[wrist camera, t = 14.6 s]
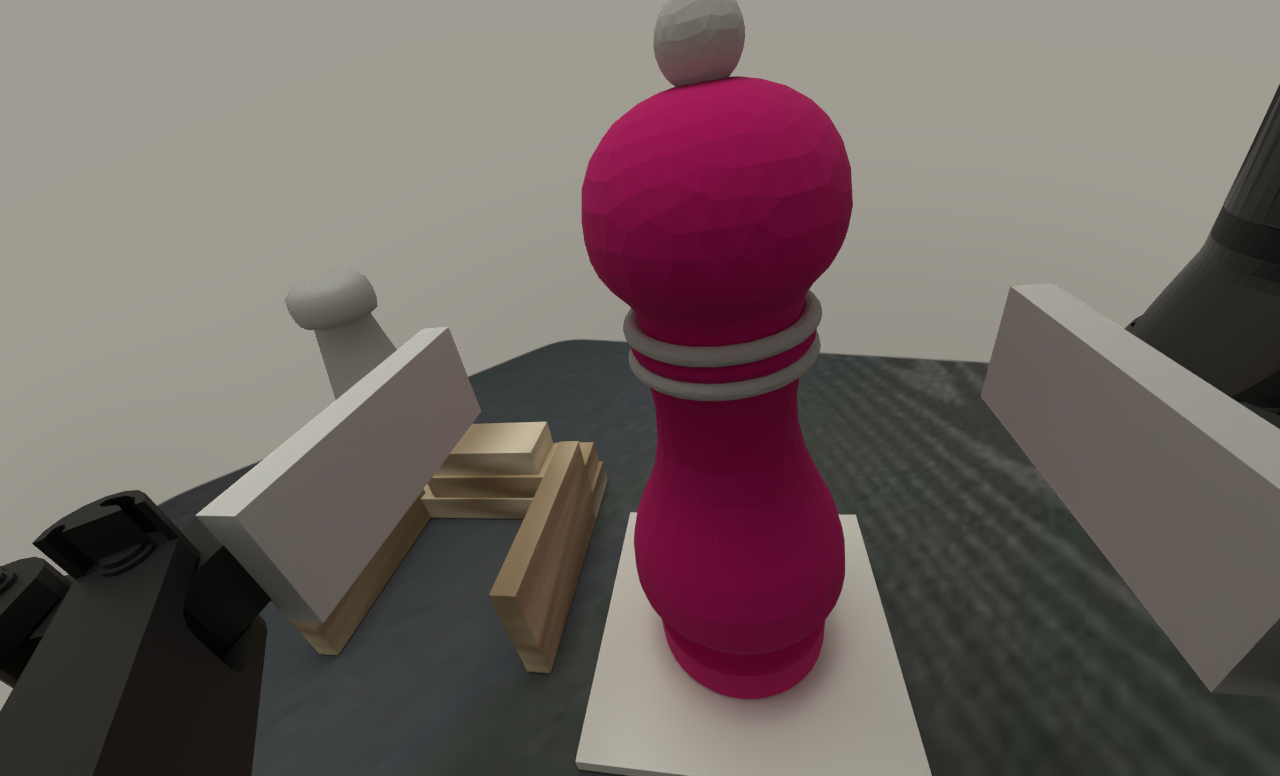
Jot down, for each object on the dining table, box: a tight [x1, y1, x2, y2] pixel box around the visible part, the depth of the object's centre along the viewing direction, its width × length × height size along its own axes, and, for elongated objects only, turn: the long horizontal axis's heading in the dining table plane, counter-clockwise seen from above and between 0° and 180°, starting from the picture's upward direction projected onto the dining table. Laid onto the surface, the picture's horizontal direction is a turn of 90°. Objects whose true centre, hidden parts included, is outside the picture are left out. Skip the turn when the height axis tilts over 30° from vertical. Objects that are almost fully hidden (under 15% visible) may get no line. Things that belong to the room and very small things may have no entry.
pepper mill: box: [582, 0, 853, 699], centre depth 14 cm, size 7×7×20 cm
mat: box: [575, 512, 932, 776], centre depth 20 cm, size 11×11×1 cm
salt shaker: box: [285, 270, 397, 400], centre depth 30 cm, size 6×6×13 cm
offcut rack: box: [290, 422, 607, 673], centre depth 24 cm, size 11×11×5 cm
